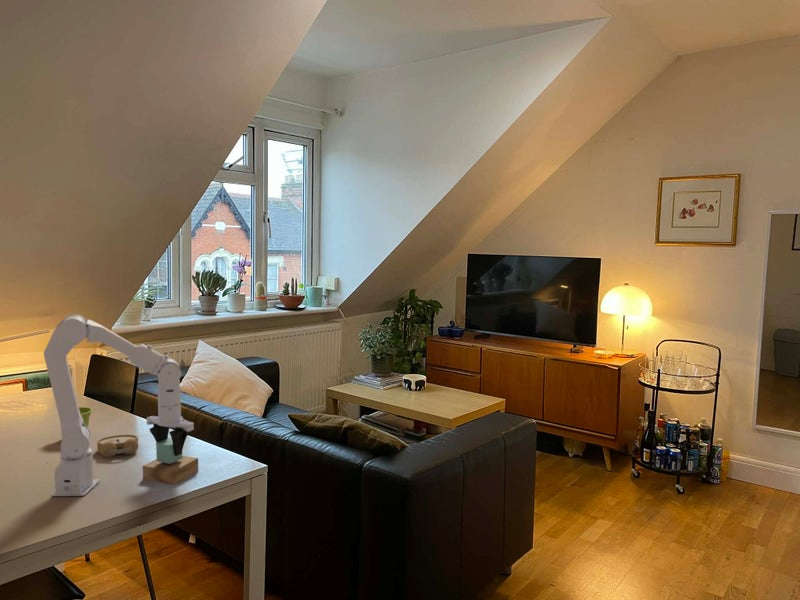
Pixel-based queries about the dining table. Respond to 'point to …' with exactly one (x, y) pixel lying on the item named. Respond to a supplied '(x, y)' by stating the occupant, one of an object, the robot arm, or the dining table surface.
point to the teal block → (166, 452)
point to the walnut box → (170, 470)
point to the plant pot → (85, 414)
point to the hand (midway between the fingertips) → (170, 453)
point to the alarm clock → (117, 445)
